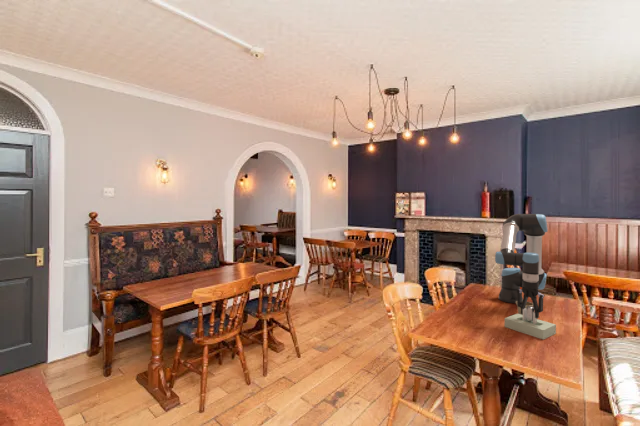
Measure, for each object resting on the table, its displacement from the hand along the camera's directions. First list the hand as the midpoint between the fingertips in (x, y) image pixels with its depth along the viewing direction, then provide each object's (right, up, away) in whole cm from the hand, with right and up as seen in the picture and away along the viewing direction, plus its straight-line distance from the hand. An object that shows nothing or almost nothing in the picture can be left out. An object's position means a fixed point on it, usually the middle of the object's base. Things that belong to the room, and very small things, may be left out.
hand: (529, 321), depth 178 cm
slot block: (0, -5, 0) cm, 5 cm away
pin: (0, -4, 0) cm, 4 cm away
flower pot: (+10, -4, +20) cm, 23 cm away
